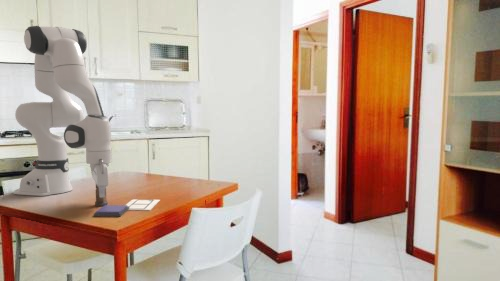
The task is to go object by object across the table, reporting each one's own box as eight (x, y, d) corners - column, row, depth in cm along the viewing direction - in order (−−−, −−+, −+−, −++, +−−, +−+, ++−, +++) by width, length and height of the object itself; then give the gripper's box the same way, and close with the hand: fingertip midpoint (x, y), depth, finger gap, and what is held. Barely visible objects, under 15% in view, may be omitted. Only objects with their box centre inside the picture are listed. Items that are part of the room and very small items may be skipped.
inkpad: (93, 216, 120) (93, 211, 120) (104, 208, 129) (104, 204, 129) (120, 216, 120) (120, 212, 120) (129, 209, 129) (129, 204, 129)
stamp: (93, 206, 132) (92, 182, 131) (98, 203, 137) (97, 180, 136) (104, 206, 132) (104, 182, 131) (109, 203, 137) (108, 180, 136)
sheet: (119, 210, 127) (119, 209, 127) (132, 200, 141) (132, 199, 141) (150, 210, 127) (150, 209, 127) (160, 200, 141) (160, 199, 141)
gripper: (112, 160, 125) (113, 199, 126) (104, 154, 143) (105, 188, 144) (92, 162, 122) (94, 201, 123) (87, 155, 140) (88, 190, 141)
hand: (100, 194), depth 133 cm, fingers open, 8 cm apart
